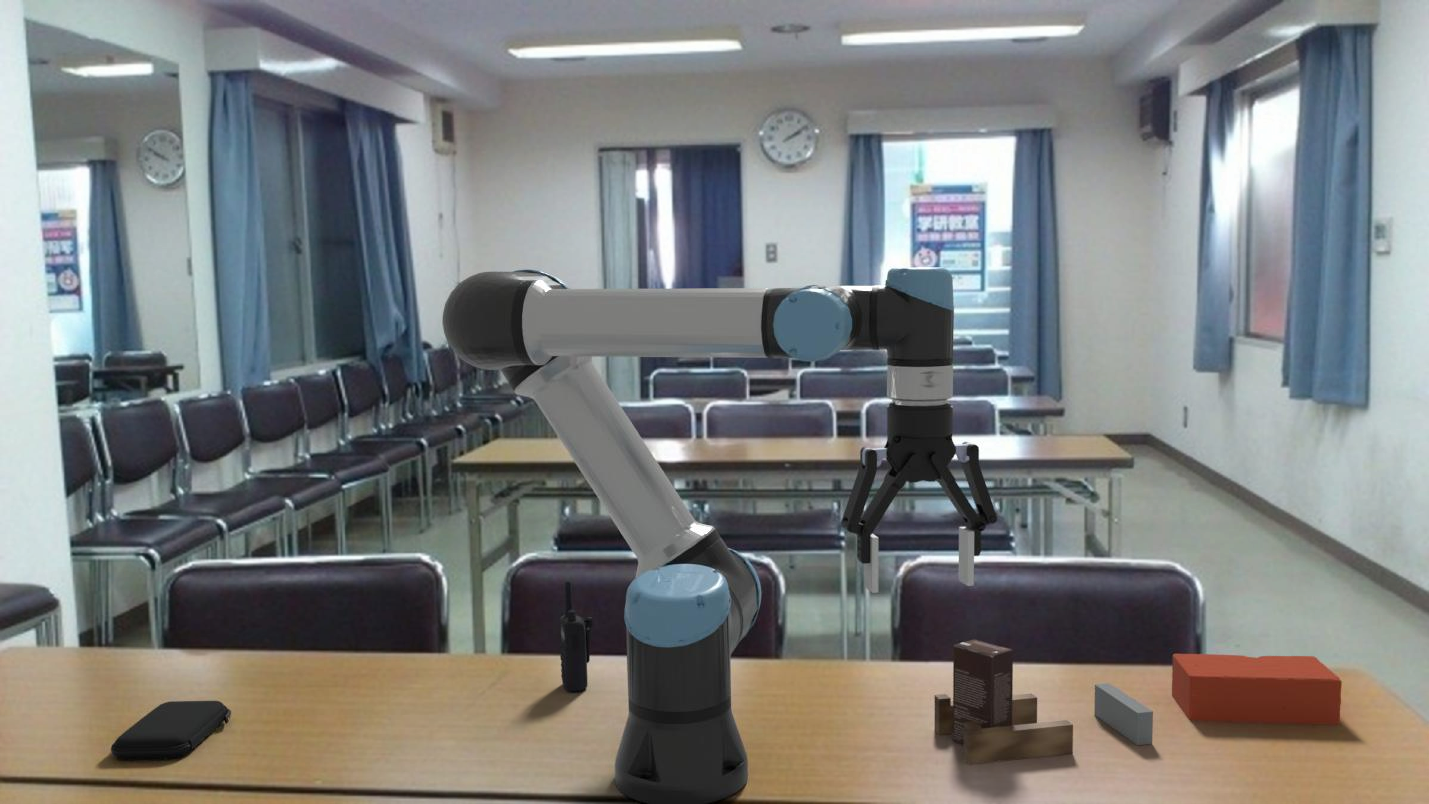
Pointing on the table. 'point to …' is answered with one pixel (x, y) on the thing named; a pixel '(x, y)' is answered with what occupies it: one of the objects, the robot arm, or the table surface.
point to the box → (981, 686)
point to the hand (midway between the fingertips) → (919, 586)
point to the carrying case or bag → (170, 730)
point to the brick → (1256, 689)
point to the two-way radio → (574, 645)
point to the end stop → (1124, 714)
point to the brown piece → (1008, 733)
